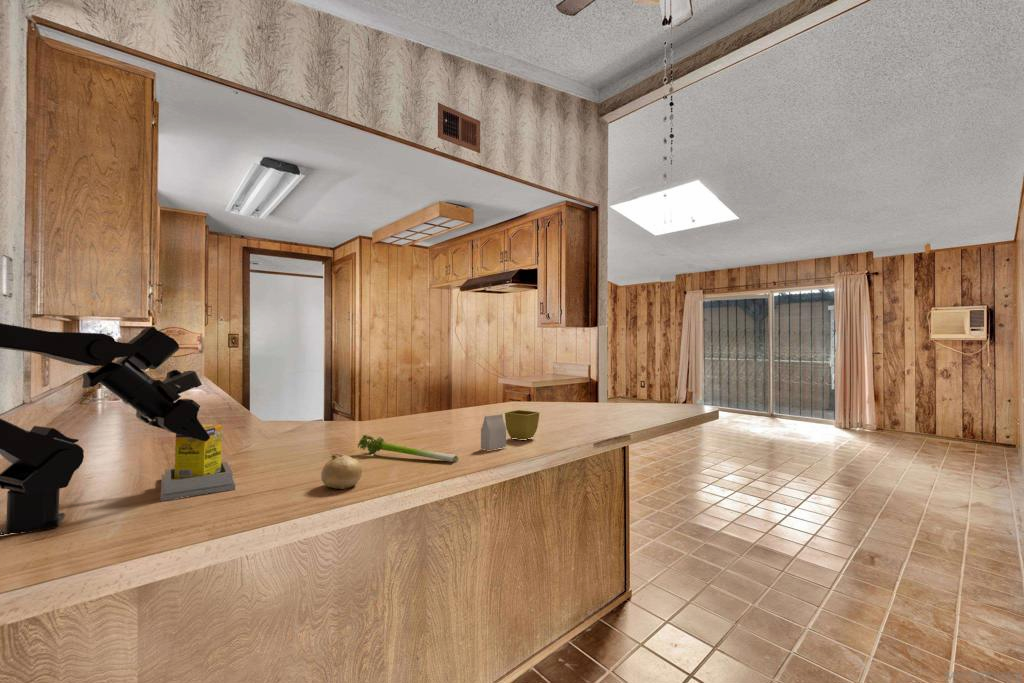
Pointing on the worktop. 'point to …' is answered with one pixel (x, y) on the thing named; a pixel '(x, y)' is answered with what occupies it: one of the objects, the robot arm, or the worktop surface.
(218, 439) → the supplement box
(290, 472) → the worktop surface
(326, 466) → the onion
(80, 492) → the worktop surface
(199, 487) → the gray rectangular tray
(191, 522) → the worktop surface
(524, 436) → the flower pot
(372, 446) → the green celery stalk
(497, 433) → the grey gable carton
